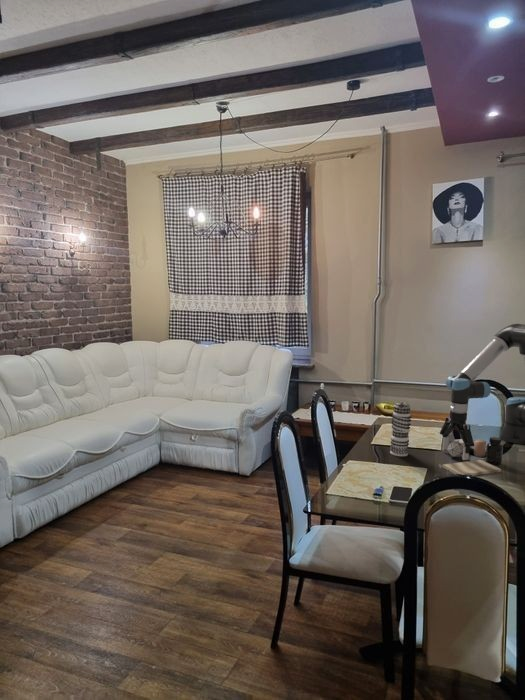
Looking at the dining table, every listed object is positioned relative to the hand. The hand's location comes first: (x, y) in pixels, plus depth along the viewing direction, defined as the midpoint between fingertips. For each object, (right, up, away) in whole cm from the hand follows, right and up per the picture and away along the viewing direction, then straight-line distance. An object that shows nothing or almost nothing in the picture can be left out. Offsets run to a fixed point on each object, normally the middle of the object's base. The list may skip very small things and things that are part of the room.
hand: (454, 454), depth 235 cm
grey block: (+7, 0, +10) cm, 12 cm away
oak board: (+1, -3, -15) cm, 16 cm away
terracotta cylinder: (+13, -1, +4) cm, 14 cm away
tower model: (-26, 0, +3) cm, 26 cm away
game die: (0, -1, 0) cm, 2 cm away
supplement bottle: (+15, -3, -7) cm, 17 cm away
